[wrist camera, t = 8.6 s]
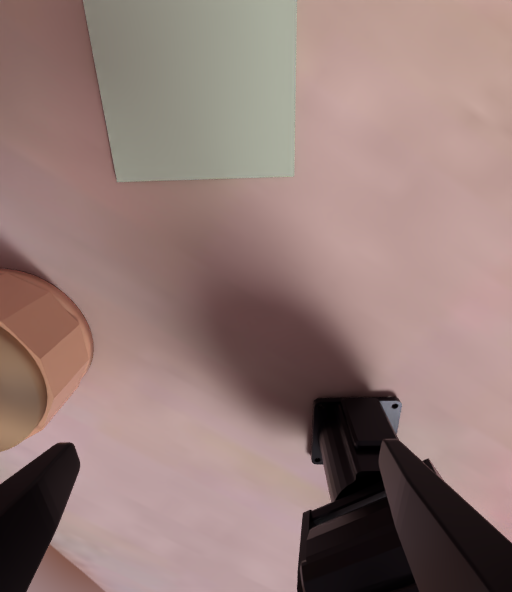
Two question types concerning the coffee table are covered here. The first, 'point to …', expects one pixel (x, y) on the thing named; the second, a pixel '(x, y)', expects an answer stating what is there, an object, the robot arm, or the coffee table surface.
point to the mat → (196, 86)
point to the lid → (19, 392)
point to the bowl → (47, 334)
